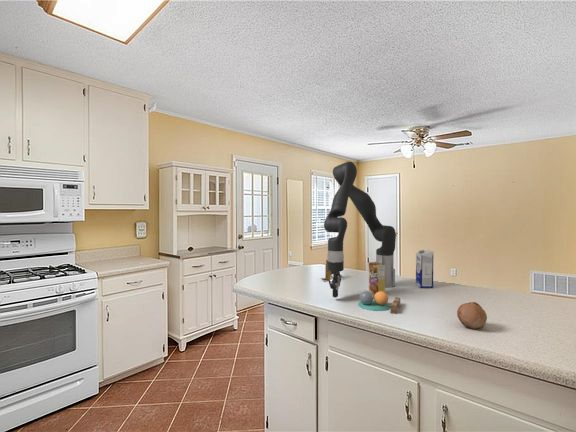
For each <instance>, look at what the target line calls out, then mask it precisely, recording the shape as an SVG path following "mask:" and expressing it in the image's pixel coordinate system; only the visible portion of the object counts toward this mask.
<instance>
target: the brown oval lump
mask: <svg viewBox="0 0 576 432" xmlns="http://www.w3.org/2000/svg"><path fill="white" fill-rule="evenodd" d="M456 317H457V319H458V320H459V322H460V323H461V324H462V326H464V327H465V328H467V329H472V330H477V329H479V330H480V329H481V328H483V327H484V326H485V325H486V323H487V320H488V316H487V313H486V311H485V309H483V306H481V305H480V304H479V303H478V302H476V301H470V302H466V303H463V304H460V305H459V306H458V308H457V311H456Z"/></svg>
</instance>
